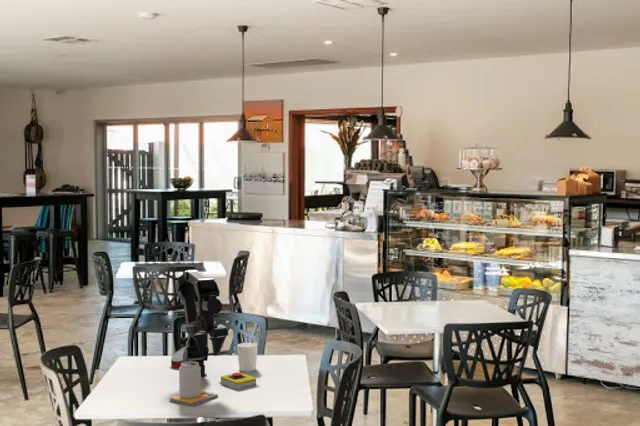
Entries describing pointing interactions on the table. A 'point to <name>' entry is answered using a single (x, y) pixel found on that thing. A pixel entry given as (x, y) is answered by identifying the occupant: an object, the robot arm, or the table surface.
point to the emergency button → (239, 381)
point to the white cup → (247, 356)
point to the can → (190, 380)
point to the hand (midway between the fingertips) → (208, 354)
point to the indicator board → (195, 399)
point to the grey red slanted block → (177, 358)
